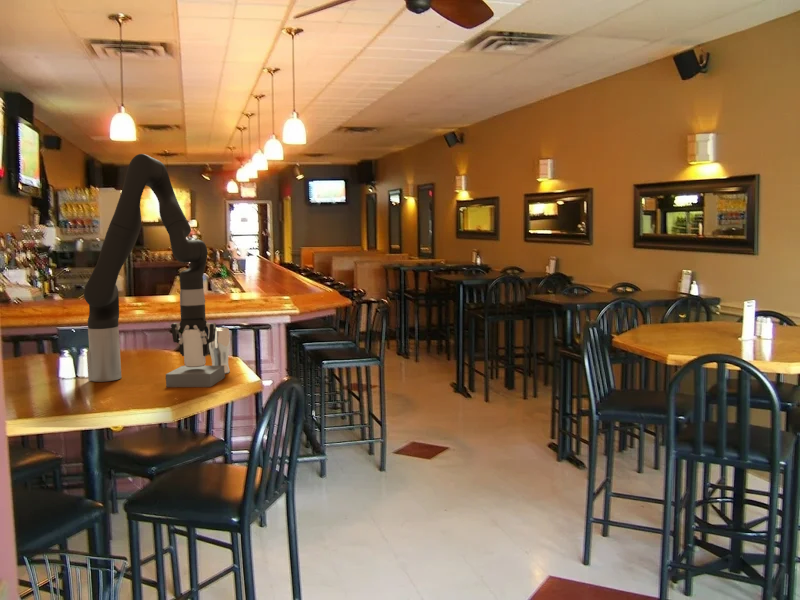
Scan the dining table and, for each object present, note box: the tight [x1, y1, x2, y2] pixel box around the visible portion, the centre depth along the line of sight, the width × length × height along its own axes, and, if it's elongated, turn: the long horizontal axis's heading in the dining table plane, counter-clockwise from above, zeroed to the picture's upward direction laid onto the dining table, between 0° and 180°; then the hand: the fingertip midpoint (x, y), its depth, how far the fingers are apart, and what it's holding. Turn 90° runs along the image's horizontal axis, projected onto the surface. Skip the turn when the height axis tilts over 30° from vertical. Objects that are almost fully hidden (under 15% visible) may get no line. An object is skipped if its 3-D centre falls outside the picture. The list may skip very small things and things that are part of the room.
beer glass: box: [208, 327, 231, 375], centre depth 239 cm, size 7×7×15 cm
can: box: [182, 329, 207, 367], centre depth 224 cm, size 6×6×12 cm
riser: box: [165, 365, 226, 388], centre depth 225 cm, size 14×14×4 cm
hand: (194, 355), depth 225 cm, fingers closed on can, 6 cm apart
